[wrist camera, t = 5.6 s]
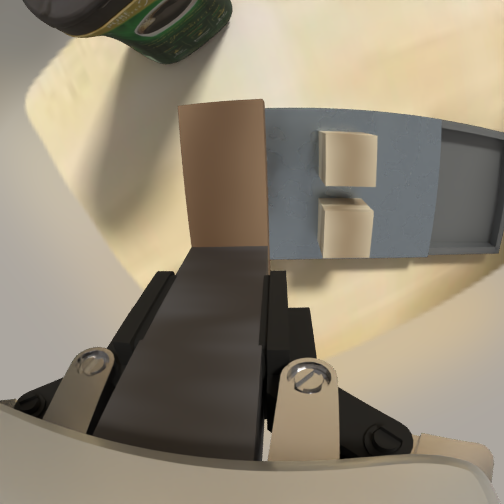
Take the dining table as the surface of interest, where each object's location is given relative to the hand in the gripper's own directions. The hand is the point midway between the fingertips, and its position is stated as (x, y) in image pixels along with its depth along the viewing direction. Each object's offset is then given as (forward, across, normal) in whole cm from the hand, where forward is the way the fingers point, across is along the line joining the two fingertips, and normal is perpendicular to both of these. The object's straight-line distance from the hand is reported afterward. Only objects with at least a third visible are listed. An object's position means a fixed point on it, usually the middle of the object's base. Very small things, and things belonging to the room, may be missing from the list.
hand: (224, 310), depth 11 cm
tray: (+21, -23, 0) cm, 31 cm away
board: (+21, -8, 0) cm, 22 cm away
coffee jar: (+21, +6, -17) cm, 28 cm away
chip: (+18, -8, -3) cm, 20 cm away
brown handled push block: (+5, 0, 0) cm, 5 cm away
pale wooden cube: (+18, -8, +3) cm, 20 cm away
